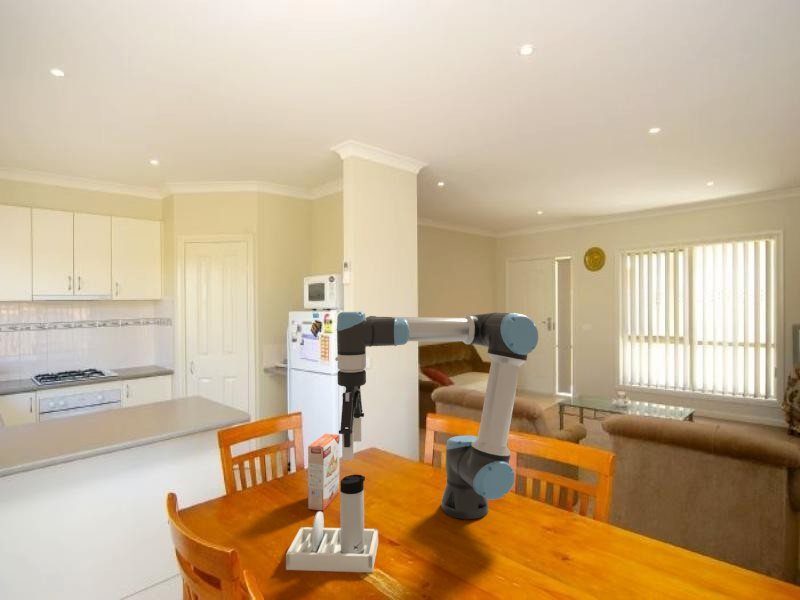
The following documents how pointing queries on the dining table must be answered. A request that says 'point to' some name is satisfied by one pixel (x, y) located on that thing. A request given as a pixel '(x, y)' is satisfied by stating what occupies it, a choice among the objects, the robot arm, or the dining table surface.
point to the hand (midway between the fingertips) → (352, 449)
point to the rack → (329, 550)
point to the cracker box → (323, 471)
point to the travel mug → (352, 514)
